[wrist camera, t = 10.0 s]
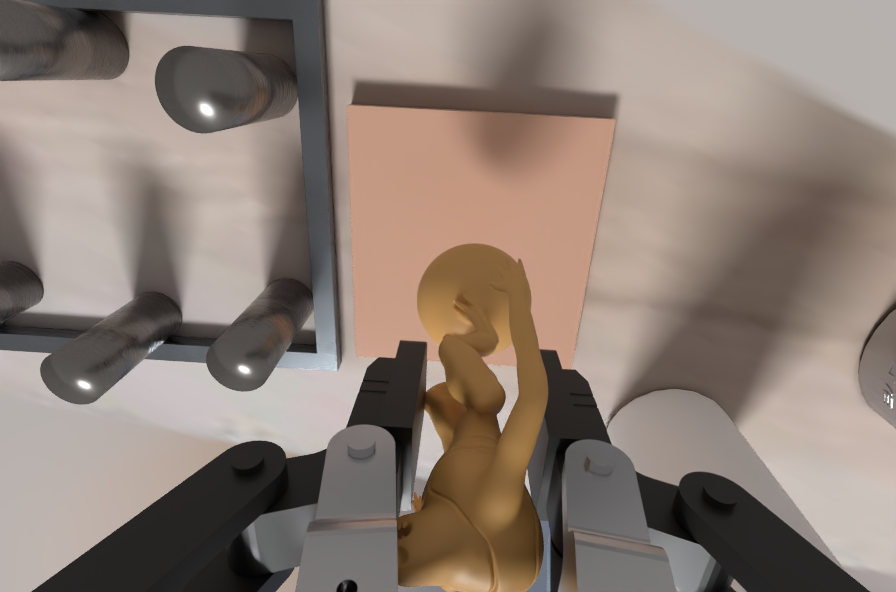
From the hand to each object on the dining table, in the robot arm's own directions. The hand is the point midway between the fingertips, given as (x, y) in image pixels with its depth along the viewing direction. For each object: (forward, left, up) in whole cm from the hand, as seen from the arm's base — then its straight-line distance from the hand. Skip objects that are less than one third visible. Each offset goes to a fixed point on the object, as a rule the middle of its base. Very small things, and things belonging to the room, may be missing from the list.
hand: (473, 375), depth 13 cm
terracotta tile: (0, 0, -11) cm, 11 cm away
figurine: (-2, 0, -6) cm, 6 cm away
